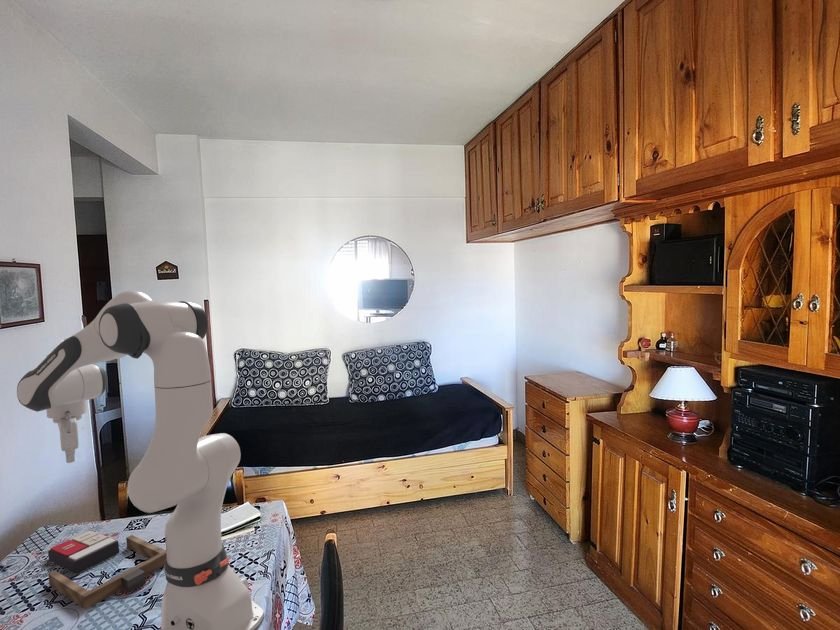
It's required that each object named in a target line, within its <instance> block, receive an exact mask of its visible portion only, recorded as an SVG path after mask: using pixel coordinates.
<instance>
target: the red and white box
mask: <svg viewBox="0 0 840 630" xmlns="http://www.w3.org/2000/svg"><path fill="white" fill-rule="evenodd" d="M119 553H120V544H119V540H117V539H114V538H112V537H108V536H107V535H104V534H101V533H98V532H95V531H92V530H89V531H86V532H84V533H82V534H79V535H77V536H75V537H72V539H68V540H66V541H63V542H61V543H59V544H56V545H55V546H52V547H50V549H49V550H47V554H48V560H49V561H51V562H52V563H54V564H55V565H58V566H59V567H62V568H64V569H66V570H67V571H68V572H70V573H72V574H74V575H77V574H80V573H81V572H84V571H85V570H87V569H89V568H92V567H94V566H96V565H98V564H100V563H102V562H103V561H106V560H108V559H110V558H112V557H114V556H116V555H118V554H119Z"/></svg>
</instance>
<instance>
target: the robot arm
mask: <svg viewBox="0 0 840 630" xmlns="http://www.w3.org/2000/svg"><path fill="white" fill-rule="evenodd" d="M208 329H209V320H208V315H207V313H206V312H205V310H204V309H203V307H202V306H201V305H199V304H197V303H194V302H191V301H183V300H181V301H158V300H153V299H152V298H151V297H150V296H149V295H148V294H146V293H143V292H141V291H137V290H125V291H122V292H119V293H118V294H117V295H115V296H114V297H113V298H111V299H110V300H109V301H108V302H107V303H106V304H105V305H104V306H103V307H102V308H101V310H100V311H99V312H98V313H97V315H96V317H95V318H94V319H93V320H92V321H90V323H89V324H87V325H86V326H85V327H84V328H82V329H80V330H79V331H77V332H76V333H75V334H73V335H71V336H69V337H68V338H65V340H63V341H61V342H60V343H59V344H58V345H57V346H56V347H55V348H54V349H53V350H52V351H51V352H50V353H49V354H47V355H46V357H45V358H44V359H43V360H42V361H41V363H39V365H37V367H35V368H34V369H32V370H29V371H28V372H27V373H25V374H24V375H23V376H22V378H21V379H20V380H19V382H18V383H17V387H16V397H17V399H18V402H19V403H20V405H22V406H23V407H25V408H27V409H29V410H31V411H34V412H37V413H38V412H41V411H45V410H46V418H47V419H52V422H53V424H57V427H58V430H59V437H60V439H59V440H60V448H61V451H62V452H64V454H65V461H66V463H67V464H71V463H74V462H75V460H76V459H75V455H76V450H77V449H79V444H80V443H79V430H78V421H79V420H81V419H82V418H83V417H82V416H83V415H84V414H85V413H87V411H88V405H87V403H88V402H87V401H89V400H93V399H96V398H98V397H99V398H100V397H101V396H102V395H103V394H104V392H105V391H106V389H107V388H108V383H109V382H108V381H109V380H108V374H107V371H106V370H105V369H104V368H102V367H101V366H100V365H98V363H99V364H101V363H103V362H104V363H105V362H108V361H109V362H110V361H113V360H118V359H121V358H124V357H126V356H129V357H131V358H132V359H140V357H141V356H142V355H143V354H146V355H147V356H148V357H149V358H150V359H151V361H152V365H153V382H154V383H153V384H154V385H153V387H154V403H155V404H154V405H155V419H154V420H155V421H154V428H153V433H152V435H151V439H150V442H149V444H148V447H147V449H146V451H145V454H144V455H143V457H142V459H141V460H140V462H139V463H138V464H137V466H136V467H135V468H134V469H133V470H132V471H131V474H130V475H129V477H128V482H127V494H128V498H129V500H130V502H131V503H132V504H133V506H134V507H135V508H137V509H138V510H140V511H142V512H144V513H148V514H149V513H155V512H159V511H162V510H166V509H168V508H172V507H175V506H176V507H175V509H174V510H173V511H172V513H171V514H170V516H169V517H168V520H167V522H166V524H165V526H164V527H165V528H164V536H165V538H164V539H165V540H164V541H165V550H166V554H167V558H166V561H165V566H164V574H165V580H166V581H167V582H166V584H165V585H166V586H165V589H164V593H163V595H162V598H161V612H160V613H161V618H160V620H161V621H160V622H161V623H160V624H161V625H160V629H159V630H256V628H258V627H259V625H260V624H261V622H262V621H263V619H264V617H265V611H264V609H263V608H262V607H260V605H258V604H257V603H256V602H255V601H254V600H253V599H252V597H251V593H250V590H249V588H248V587H249V581H248V578H247V577H241V578H240V577H239V576H238V574H237V573H236V571H235V568H233V567H231V565H229V563H230V562H231V560H230V559H231V557H230V556H227V551H226V549H225V547H224V544H223V540H222V539H223V538H222V511H223V510H222V509H223V503H224V499H225V495H226V491H227V489H228V486H229V482H230V480H231V478H232V475H233V473H234V472H235V470H236V469H237V467H238V466H239V464H240V461H241V455H242V453H241V447H240V445H239V443H238V442H237V440H236V439H235V438H234V437H233V436H232V435H230V434H228V433H226V432H223V433H222V432H220V433H214V434H213V433H212V434H208V435H203V436H201V435H202V432H203V430H204V428H205V427H206V425H207V424H208V423H209V422H210V420H211V418H212V416H213V413H214V404H213V403H214V401H213V389H212V387H213V386H212V373H211V372H212V371H211V365H210V360H209V355H208V351H207V347H206V345H205V342H204V340H203V339H204V338H205V337H206V335H207V333H208Z"/></svg>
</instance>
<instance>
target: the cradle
mask: <svg viewBox="0 0 840 630" xmlns="http://www.w3.org/2000/svg"><path fill="white" fill-rule="evenodd" d="M125 541H126V548H127V549H129V550H131V551H132V552H135V553H137V554H139V555H142V556H144V557H146V558H148V559H147V560H145V561H143V562H141V563H139V564H137V565H136V566H133V567H131V568H130V569H127V571H124V572H122V573H120V574H118V575H116V576H115V577H113V578H110V579H109V580H106V581H105V582H103V583H101V584H100V585H98V586H96V587H94V588H92V589H90V590H88V589H86V588H84V587H83V586H81V585H79V584H78V583H76V582H75V581H73V580H71V579H69V578H68V577H66V576H65V575H63V574H62V573H60V572H59V571H56V570H53V571H52V572H50V573H48V583H49V587H52V588H53V590H55V591H57V592H58V593H60V594H62V595H63V596H65V597H66V598H68V599H69V600H71V601H72V602H74V603H76V604H77V605H78V606H80V607H81V608H83V609H84V610H87V609H89V608H91V607H93V606H95V605H96V604H98V603H100V602H101V601H104V600H106V599H107V598H109V597H110V596H112V595H114V594H116V593H118V592H120V591H122V590H124V591H126V593H131V592H133V591H135V590H136V589H139V588H140V587H141V586H143V585H145V584H146V577H147V576H148V575H150V574H152V573H154V572H155V571H157V570H159V569H161V568H162V567H165V561H166V558H167V554H166V549H164V548H162V547H159V546H157V545H155V544H153V543H150V542H148V541H146V540H143V539H141V538H139V537H137V536H136V535H135V536H134V535H133V534H131V535H128V536H126V537H125Z"/></svg>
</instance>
